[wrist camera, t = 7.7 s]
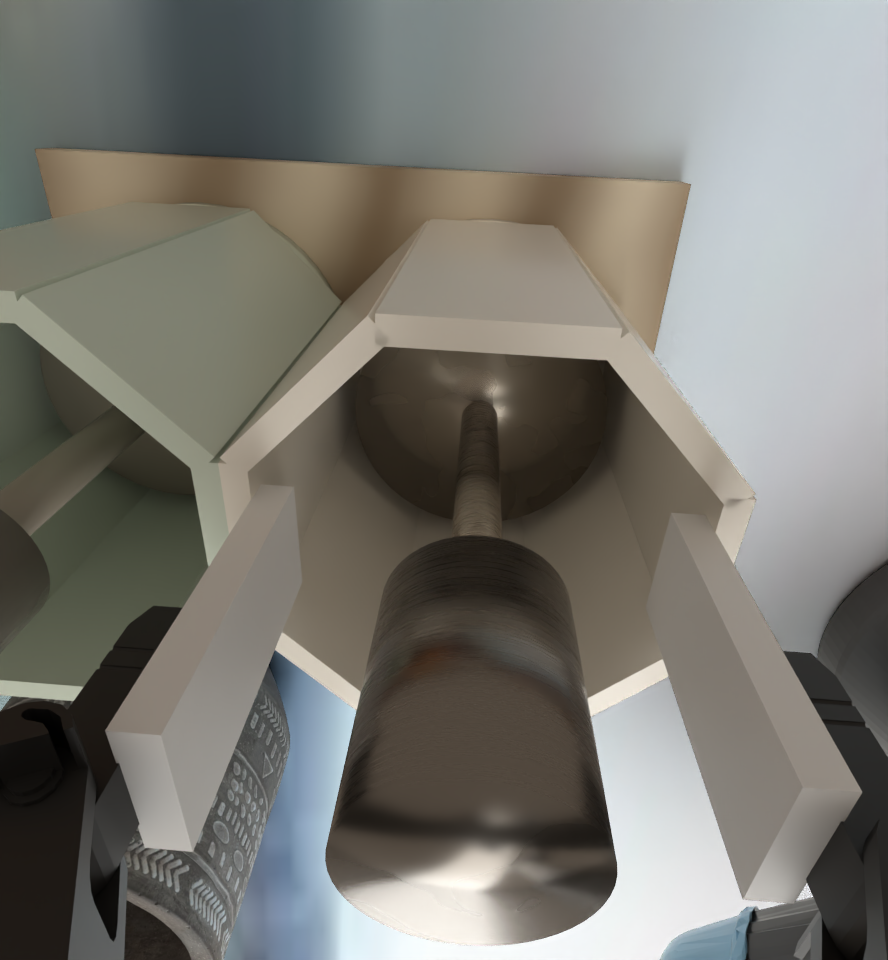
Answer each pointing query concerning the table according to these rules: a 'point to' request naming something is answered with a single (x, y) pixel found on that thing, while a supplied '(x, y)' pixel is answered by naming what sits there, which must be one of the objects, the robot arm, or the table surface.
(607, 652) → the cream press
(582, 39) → the table surface
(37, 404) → the sage press
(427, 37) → the table surface
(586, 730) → the press plunger
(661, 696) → the table surface
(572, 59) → the table surface
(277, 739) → the planter
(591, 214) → the board
